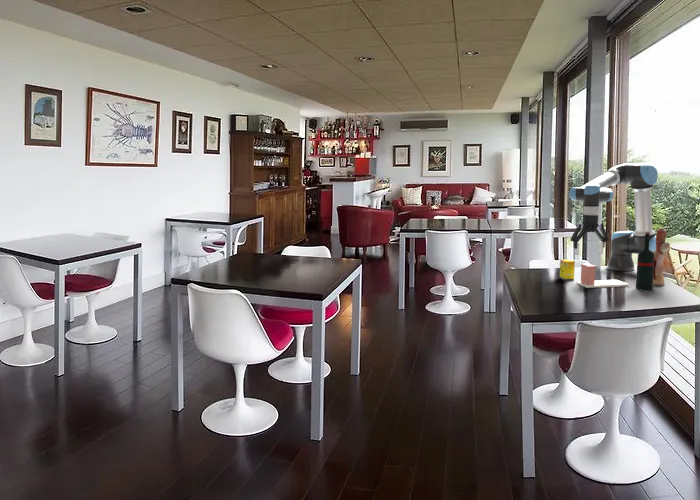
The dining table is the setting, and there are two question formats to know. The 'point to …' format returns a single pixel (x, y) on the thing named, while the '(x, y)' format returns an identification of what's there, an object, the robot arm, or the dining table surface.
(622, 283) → the white flat slab
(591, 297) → the dining table surface
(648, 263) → the wine bottle
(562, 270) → the supplement box
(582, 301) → the dining table surface
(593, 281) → the pink rectangular block
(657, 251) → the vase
